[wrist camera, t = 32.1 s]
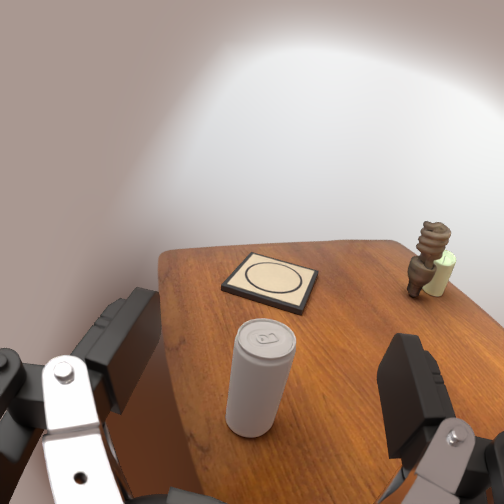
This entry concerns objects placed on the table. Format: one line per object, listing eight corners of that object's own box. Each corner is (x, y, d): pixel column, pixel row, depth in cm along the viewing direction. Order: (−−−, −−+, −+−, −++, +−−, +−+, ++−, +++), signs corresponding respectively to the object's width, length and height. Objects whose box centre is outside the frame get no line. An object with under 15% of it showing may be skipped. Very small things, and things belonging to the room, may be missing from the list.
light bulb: (430, 302, 53) (458, 229, 47) (412, 307, 51) (441, 229, 45) (411, 286, 58) (436, 216, 51) (393, 290, 56) (418, 215, 49)
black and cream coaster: (220, 290, 50) (221, 283, 50) (250, 256, 61) (251, 251, 61) (301, 315, 47) (302, 309, 46) (317, 275, 58) (318, 269, 57)
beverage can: (219, 407, 31) (227, 320, 25) (263, 399, 32) (283, 314, 27) (233, 444, 27) (246, 364, 21) (279, 434, 28) (308, 352, 23)
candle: (437, 299, 54) (452, 262, 51) (417, 287, 58) (431, 250, 54) (445, 292, 57) (460, 257, 54) (426, 281, 61) (439, 246, 57)
